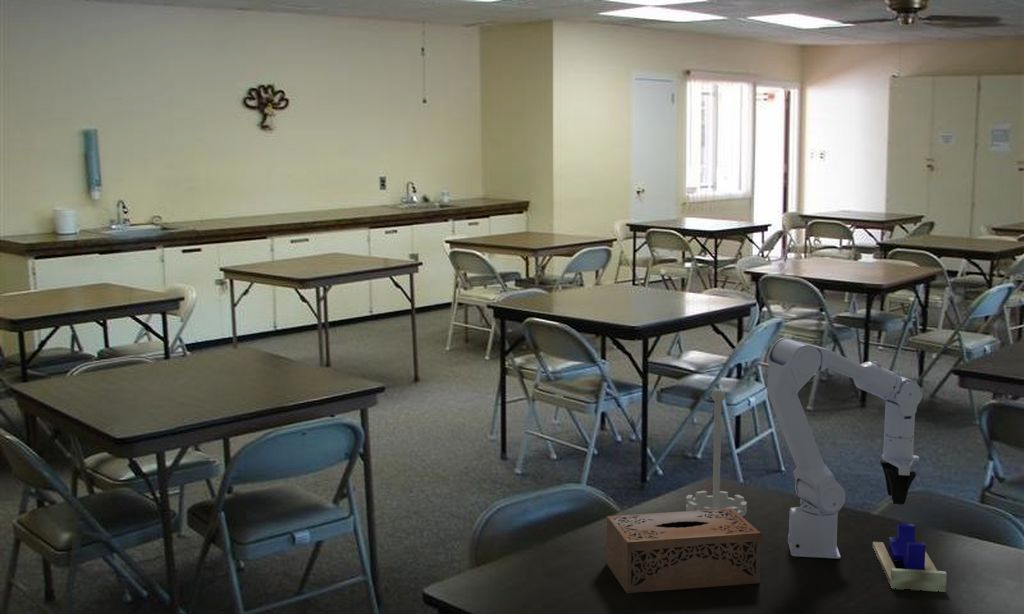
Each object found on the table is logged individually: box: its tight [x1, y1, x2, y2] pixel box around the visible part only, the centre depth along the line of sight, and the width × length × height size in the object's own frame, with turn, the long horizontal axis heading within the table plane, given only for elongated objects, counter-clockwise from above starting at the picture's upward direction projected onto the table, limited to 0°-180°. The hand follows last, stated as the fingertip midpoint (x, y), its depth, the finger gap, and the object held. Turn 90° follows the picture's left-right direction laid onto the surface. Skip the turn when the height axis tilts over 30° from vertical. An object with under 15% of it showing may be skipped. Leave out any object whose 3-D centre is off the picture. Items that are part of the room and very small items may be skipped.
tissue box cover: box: [606, 508, 762, 594], centre depth 199 cm, size 26×14×10 cm, turn 100°
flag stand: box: [685, 388, 748, 518], centre depth 226 cm, size 13×13×30 cm
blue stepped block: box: [888, 522, 927, 570], centre depth 204 cm, size 12×4×6 cm, turn 170°
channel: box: [872, 541, 948, 593], centre depth 201 cm, size 10×21×4 cm, turn 170°
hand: (896, 499), depth 214 cm, fingers open, 5 cm apart
